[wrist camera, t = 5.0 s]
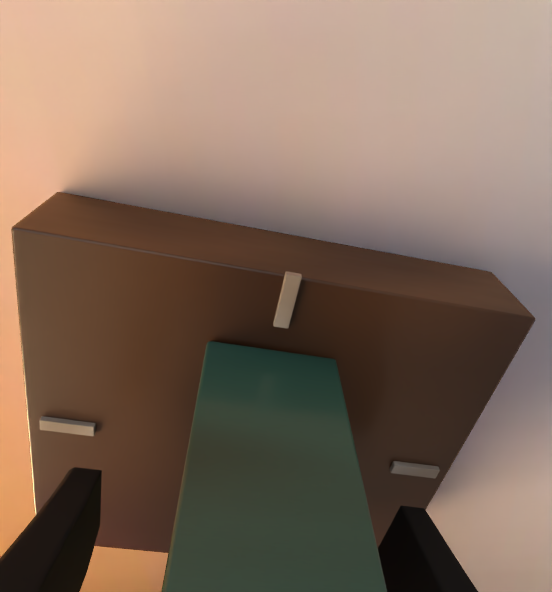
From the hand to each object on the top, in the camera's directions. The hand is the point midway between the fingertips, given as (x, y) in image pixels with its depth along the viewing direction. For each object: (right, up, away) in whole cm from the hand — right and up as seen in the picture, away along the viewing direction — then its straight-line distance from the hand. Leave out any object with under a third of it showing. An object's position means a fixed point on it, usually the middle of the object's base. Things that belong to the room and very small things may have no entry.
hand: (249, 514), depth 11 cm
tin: (0, +1, +2) cm, 2 cm away
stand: (0, +2, +4) cm, 5 cm away
